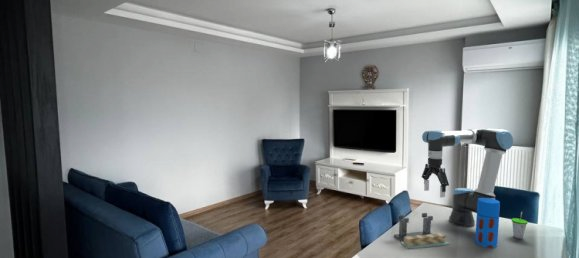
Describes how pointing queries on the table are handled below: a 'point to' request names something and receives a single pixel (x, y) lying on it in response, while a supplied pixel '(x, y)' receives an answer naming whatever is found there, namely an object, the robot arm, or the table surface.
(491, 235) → the thermos
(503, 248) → the table surface
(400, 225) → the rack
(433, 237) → the rail
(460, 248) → the table surface
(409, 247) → the mat
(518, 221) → the cup
